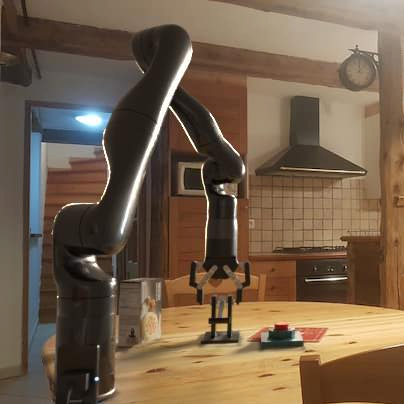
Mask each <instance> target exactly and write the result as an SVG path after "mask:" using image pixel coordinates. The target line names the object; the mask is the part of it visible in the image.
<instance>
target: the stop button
mask: <svg viewBox="0 0 404 404" xmlns="http://www.w3.org/2000/svg"><path fill="white" fill-rule="evenodd" d="M273 327H274V330H278V331H284V330H289V327H290V323H289V322H286V321H279V322H278V321H277V322H275V323H274V325H273Z"/></svg>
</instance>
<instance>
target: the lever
mask: <svg viewBox="0 0 404 404" xmlns="http://www.w3.org/2000/svg"><path fill="white" fill-rule="evenodd" d="M227 308H228V295H217V310H218V311H217V318H211V317H208V321H207V325H211V324H216V325H222V324H223V325H227V324H230V317H224V310H227Z"/></svg>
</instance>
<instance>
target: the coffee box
mask: <svg viewBox="0 0 404 404" xmlns="http://www.w3.org/2000/svg"><path fill="white" fill-rule="evenodd" d="M118 287H119V288H118V333H117V334H118V335H117V346H118V347H123V348H133V347H134V346H136V345H141V344H144V343H145V344H146V343H148V342H151V341H153V340H156V339H160V338H162V313H163V312H162V309H163V308H162V307H163V306H162V305H163V303H162V302H163V277H138V278H132V279H131V278H130V279H126V280H125V279H124V280H120V281H119V282H118Z"/></svg>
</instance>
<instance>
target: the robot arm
mask: <svg viewBox="0 0 404 404" xmlns="http://www.w3.org/2000/svg"><path fill="white" fill-rule="evenodd" d="M130 50H131V55H132V58H133V59H134V61H135V63H136V65H137V67H139V68H138V69H140V71H141V72H142V74H143V76H142V77H140V79H139V80H138V81H137V82H136V83H135V84H134V85H133V86H132V87H131V88H130V89H129V90H128V91H127V92H126V93H125V94H124V95H123V96H122V97H121V98H120V99H119V100H118V102H117V104H115V106H114V108H113V110H112V112H111V114H110V117H109V118H108V122H107V123H106V126H105V128H104V132H103V135H102V146H103V151H104V154H105V158H106V161H107V165H108V170H109V175H108V180H107V184H106V187H105V190H104V192H103V195H102V196H101V198H100V200H99V201H98V202H86V203H85V202H81V203H79V202H78V203H77V202H76V203H69V204H66V205H65V206H63V207H62V208H61V209H60V210H59V211H58V212H57V214H56V216H55V218H54V221H53V224H52V232H51V253H52V256H51V257H52V259H51V260H52V261H51V263H52V278H53V281H54V284H55V286H56V291H57V292H56V318H55V319H56V320H55V342H54V343H55V344H54V346H55V347H54V348H55V349H54V369H53V393H52V402H53V403H54V404H97V403H99V402H101V401H104V400H107V399H109V398H111V397H113V396H114V395H115V393H116V386H115V381H116V380H115V379H116V378H115V376H116V349H117V348H116V342H117V315H118V314H117V311H118V281H117V278H115V277H114V276H113V275H110V274H109V273H106V272H105V271H104V270H103V269H102V268H101V267H100V266H99V264H98V261H97V257H112V256H114V255H117V254H118V253H120V252H121V251H122V250H123V249H124V247H125V246H126V244H127V242H128V240H129V238H130V235H131V231H132V228H133V225H134V220H135V216H136V211H137V208H138V202H139V198H140V194H141V190H142V186H143V183H144V180H145V177H146V174H147V170H148V166H149V164H150V162H151V158H152V156H153V153H154V151H155V149H156V146H157V144H158V141H159V138H160V134H161V132H162V129H163V126H164V122H165V119H166V116H167V113H168V111H169V109H170V110H171V111H172V112H173V114H174V115H175V117H176V118H177V120H178V121H179V123H180V125H181V126H182V127H183V129H184V131H185V133H186V135H187V137H188V139H189V141H190V143H191V144H192V146H193V148H194V149H195V151H196V152H197V154H199V155H201V156H204V157H205V156H206V157H208V158H206V159H205V161H204V162H203V164H202V166H201V171H200V172H201V174H200V175H201V180H202V184H203V187H204V194H205V197H206V200H207V211H206V213H207V215H206V218H207V219H206V225H205V245H204V261H196V260H194V261H191V263H190V269H189V281H188V286H189V287H190V288H191V287H192V288H195V289H196V303H197V304H198V305H199V306H203V305H204V296H205V294H204V293H205V292H204V291H205V290H204V286H205V285H206V284H207V283H208V281H209V280H210V279H212V280H217V281H218V280H229V279H230V280H231V281H232V282H233V283H234V285H235V286H236V287H237V288H236V296H235V299H236V300H235V301H236V302H235V305H236V306H239V305H240V303H242V302H243V294H244V293H243V292H244V291H243V290H244V289H245V288H247V287H250V286H251V262H250V261H248V260H246V261H240V262H239V261H238V237H239V230H238V229H239V228H238V227H239V226H238V199H237V197H236V196H235V195H232V194H229V193H226V191H225V187H224V185H237V184H239V183H241V182H242V181H244V178H245V176H246V167H245V163H244V160H243V158H242V157H241V156H240V154H239V153H238V152H237V151H236V150H235V149H234V148H233V146H232V145H231V143H229V142H228V141H227V140H226V139H225V138H224V137H223V133H222V132H221V130H220V129H219V126H218V124H217V122H216V120H215V118H214V117H213V115H212V114H211V112H210V111H209V109H208V108H207V107H206V106H205V105H204V104H202V102H200V101H199V100H198V99H196V97H194V96H193V95H192V94H191V93H189V92H188V91H187V90H186V89H185V88H184V87H183V86H182V85H181V84H180V83H181V81H182V79H183V77H184V75H185V73H186V71H187V70H188V67H189V65H190V63H191V60H192V54H193V44H192V39H191V36H190V34H189V32H188V31H187V30H186V29H185V28H184V27H182V26H180V25H179V24H175V23H165V24H160V25H156V26H152V27H147V28H143V29H140V30H138V31H136V32H135V33H134V34H133V35H132V37H131V39H130ZM201 267H202V268H203V269H204V271H205V272H206V274H205V275H204V276H203V278H202V279H201V280H200V281H199V282H198V281H197V274H198V273H197V272H198V271H200V269H201ZM239 267H240V270H241V271H244V281H243V282H242V281H241V280H240V279H239V277H238V276H237V274H236V273H235V272H236V271H237V269H238V268H239Z"/></svg>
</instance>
